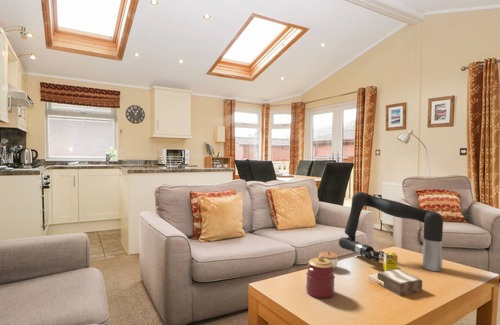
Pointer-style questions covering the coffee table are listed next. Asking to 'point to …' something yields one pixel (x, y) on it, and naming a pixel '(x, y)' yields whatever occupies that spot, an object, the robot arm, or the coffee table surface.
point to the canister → (320, 278)
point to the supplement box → (390, 261)
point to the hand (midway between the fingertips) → (384, 259)
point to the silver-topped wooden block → (400, 282)
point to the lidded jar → (330, 257)
